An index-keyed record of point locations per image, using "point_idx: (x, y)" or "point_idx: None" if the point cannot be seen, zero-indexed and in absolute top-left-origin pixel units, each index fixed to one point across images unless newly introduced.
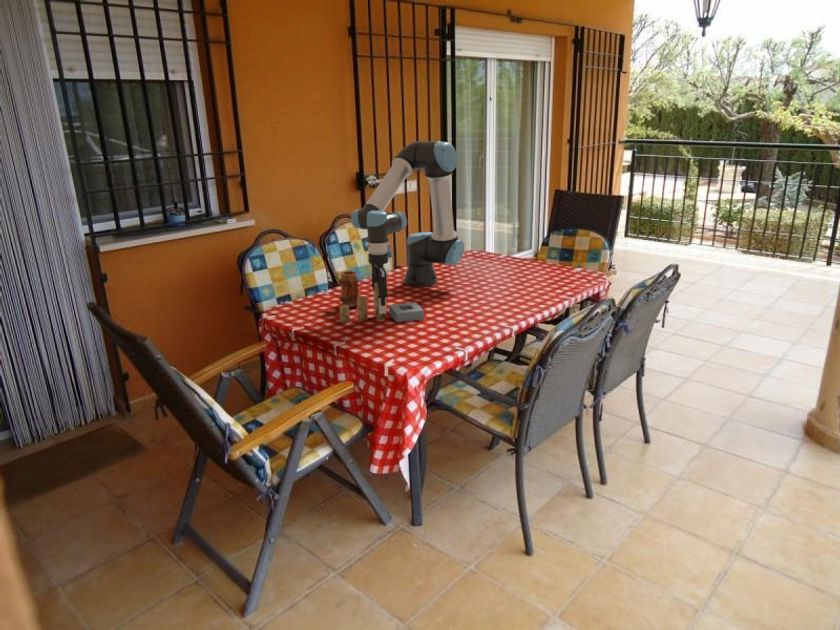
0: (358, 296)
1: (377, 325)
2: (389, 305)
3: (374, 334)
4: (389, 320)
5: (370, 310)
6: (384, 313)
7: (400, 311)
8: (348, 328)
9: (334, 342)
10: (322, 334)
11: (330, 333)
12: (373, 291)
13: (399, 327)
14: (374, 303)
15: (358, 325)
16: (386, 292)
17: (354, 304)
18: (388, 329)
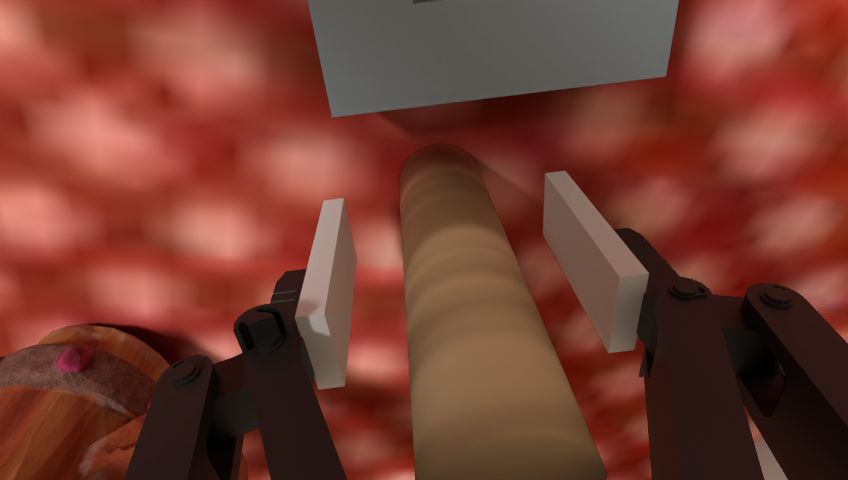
0: (66, 380)
1: (617, 222)
2: (355, 113)
3: (779, 256)
4: (539, 114)
5: (229, 240)
6: (466, 165)
7: (622, 11)
8: (588, 379)
9: (756, 431)
10: (618, 470)
11: (622, 446)
12: (325, 386)
13: (759, 51)
14: (353, 280)
15: (560, 332)
16: (836, 346)
17: (157, 363)
18: (747, 153)
